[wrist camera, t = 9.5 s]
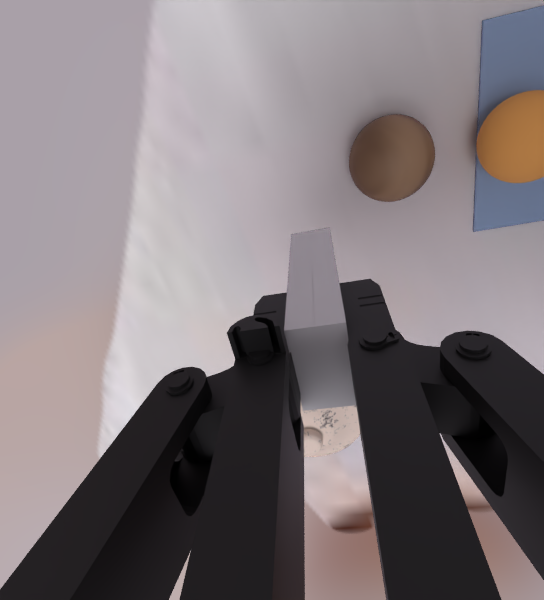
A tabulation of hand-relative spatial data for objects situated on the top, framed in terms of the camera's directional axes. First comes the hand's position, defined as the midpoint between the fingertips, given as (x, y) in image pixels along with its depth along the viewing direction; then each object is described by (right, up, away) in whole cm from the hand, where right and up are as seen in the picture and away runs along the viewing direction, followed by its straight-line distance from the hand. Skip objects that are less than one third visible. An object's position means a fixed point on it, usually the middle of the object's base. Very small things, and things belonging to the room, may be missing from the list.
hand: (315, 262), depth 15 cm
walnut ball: (+6, +8, +11) cm, 15 cm away
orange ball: (+15, +9, +9) cm, 20 cm away
